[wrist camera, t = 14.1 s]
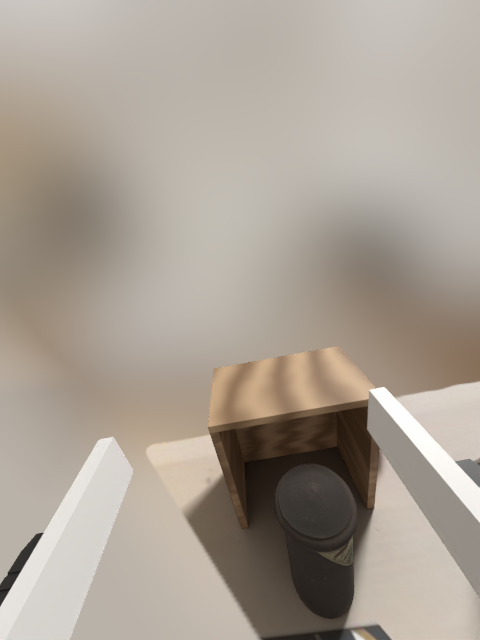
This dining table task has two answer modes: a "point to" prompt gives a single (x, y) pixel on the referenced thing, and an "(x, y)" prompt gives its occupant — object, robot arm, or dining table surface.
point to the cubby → (292, 416)
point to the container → (319, 536)
